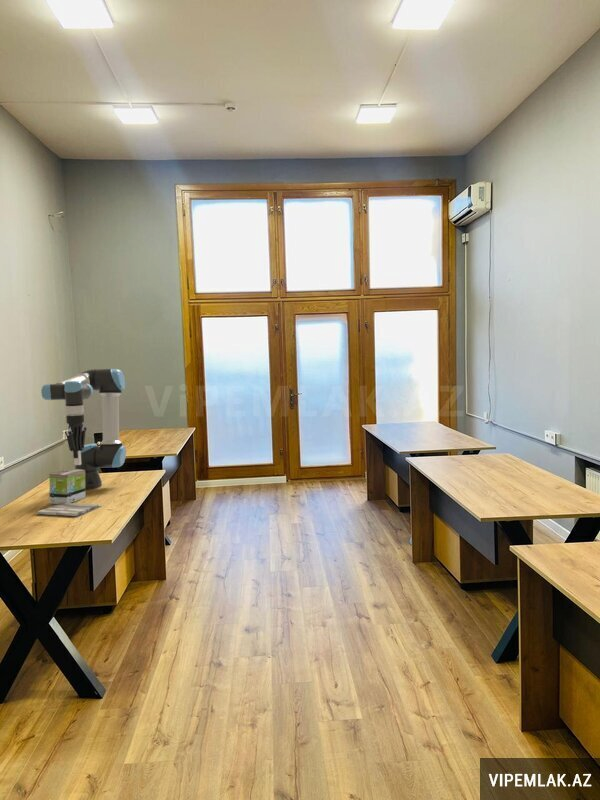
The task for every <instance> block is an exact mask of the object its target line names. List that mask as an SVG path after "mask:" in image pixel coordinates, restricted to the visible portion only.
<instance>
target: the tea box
mask: <svg viewBox="0 0 600 800" xmlns="http://www.w3.org/2000/svg"><path fill="white" fill-rule="evenodd" d="M85 498H86V489H85V470H79V469H75V468H67V469H62V470H59V471H56V472H53V473H49V504H53V505H56V504H59V503H74V502H77V501H80V500H82V499H85Z"/></svg>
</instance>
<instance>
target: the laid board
mask: <svg viewBox="0 0 600 800" xmlns="http://www.w3.org/2000/svg"><path fill="white" fill-rule="evenodd" d="M98 506H99V504H95V503H94V504H93V503H74V502H71V503H59V504H53V505H52V506H50V507H51V508H69V509H87V512H89V511H91V510H93V509H95V508H98ZM98 509H99V508H98ZM93 511H94V510H93ZM91 512H92V511H91ZM89 513H90V512H89Z"/></svg>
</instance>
